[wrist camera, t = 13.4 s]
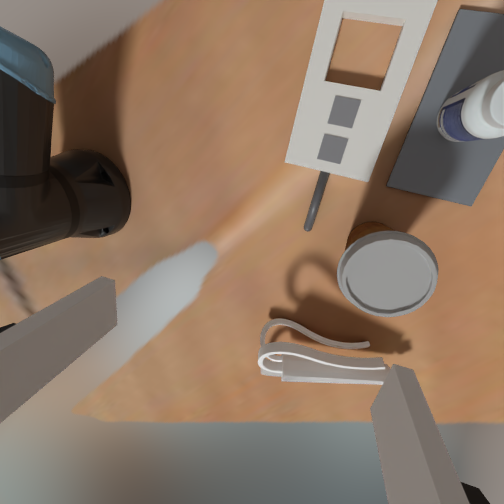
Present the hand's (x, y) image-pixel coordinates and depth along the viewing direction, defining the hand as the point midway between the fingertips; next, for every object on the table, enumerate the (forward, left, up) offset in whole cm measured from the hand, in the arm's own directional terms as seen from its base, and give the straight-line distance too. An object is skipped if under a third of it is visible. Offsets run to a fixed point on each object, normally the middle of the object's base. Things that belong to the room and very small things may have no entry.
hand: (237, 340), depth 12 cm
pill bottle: (+14, +16, -29) cm, 35 cm away
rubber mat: (+15, +16, -29) cm, 36 cm away
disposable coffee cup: (+11, -1, -29) cm, 31 cm away
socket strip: (+2, +11, -29) cm, 31 cm away
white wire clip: (+10, -20, -29) cm, 37 cm away
